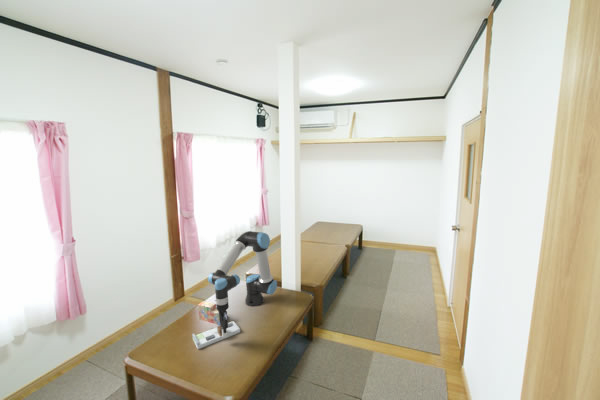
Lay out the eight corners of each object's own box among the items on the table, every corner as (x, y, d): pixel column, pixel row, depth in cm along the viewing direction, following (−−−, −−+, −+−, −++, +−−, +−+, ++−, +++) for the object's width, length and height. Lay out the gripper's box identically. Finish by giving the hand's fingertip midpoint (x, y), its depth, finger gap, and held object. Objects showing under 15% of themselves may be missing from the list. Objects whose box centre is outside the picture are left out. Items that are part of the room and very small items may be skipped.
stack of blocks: (226, 321, 208) (225, 305, 206) (220, 325, 202) (219, 310, 200) (204, 315, 217) (203, 300, 215) (198, 319, 211) (197, 304, 210)
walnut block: (224, 330, 192) (223, 324, 192) (226, 333, 189) (225, 327, 188) (217, 332, 190) (217, 326, 189) (219, 336, 186) (219, 330, 186)
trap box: (233, 324, 204) (233, 318, 203) (240, 332, 194) (239, 326, 193) (192, 339, 187) (192, 333, 187) (197, 349, 177) (197, 343, 177)
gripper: (213, 300, 182) (215, 333, 185) (220, 308, 171) (222, 343, 174) (224, 297, 186) (226, 329, 189) (231, 305, 175) (233, 339, 179)
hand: (224, 336), depth 182 cm, fingers closed
